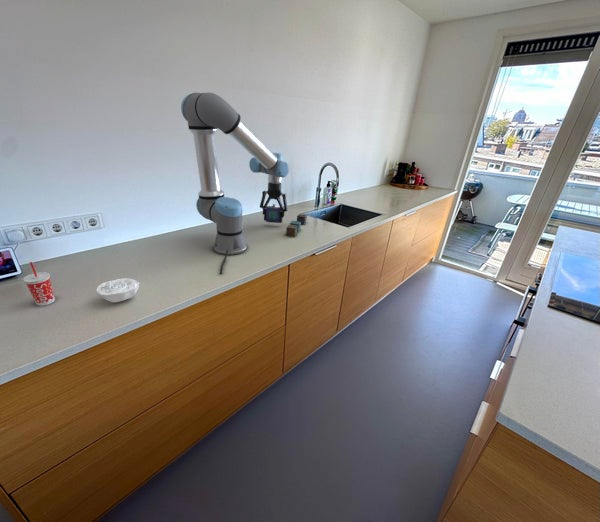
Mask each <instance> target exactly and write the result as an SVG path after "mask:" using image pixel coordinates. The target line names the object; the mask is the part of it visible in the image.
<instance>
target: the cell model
mask: <svg viewBox="0 0 600 522" xmlns="http://www.w3.org/2000/svg"><path fill="white" fill-rule="evenodd" d="M139 287H140V282H139V281H137V280H135V279H133V278H126V277H122V278H118V279H113V280H109V281H105V282H103V283H101V284H99V285H98V286H97V287H96V292H97V294H99V295H100V297H101V298H102V299H103V300H105V301H108V302H109V303H112V304H114V303H120V302H123V301H126V300H129V299H132V298H134V297H135V295H136V294H137V292H138V290H139Z"/></svg>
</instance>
